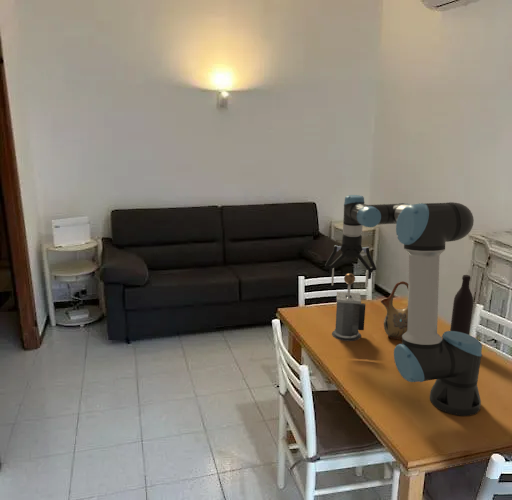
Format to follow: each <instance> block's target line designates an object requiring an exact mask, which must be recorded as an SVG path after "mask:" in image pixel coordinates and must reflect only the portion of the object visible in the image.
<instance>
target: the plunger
mask: <svg viewBox="0 0 512 500" xmlns="http://www.w3.org/2000/svg"><path fill="white" fill-rule="evenodd" d="M343 280H344V282H345V283H346V284H347V292H348V294H347V297H348V298H350V293H351V286H352V284H354V283H355V282H356V277H355V274H353V273H352V272H350V273H349V272H348V273H346V274H345V275H344V278H343Z"/></svg>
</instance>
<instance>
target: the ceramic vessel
mask: <svg viewBox="0 0 512 500" xmlns="http://www.w3.org/2000/svg"><path fill="white" fill-rule="evenodd" d="M400 285H404V286H406V289H407V290H408V282H407V281H399V282H397V283H396V284H395V285H394V287H393V289H392V291H391V293H390V295H389V296H388V297H385V298H382V299H381V300H380V303H381V305H383V306H384V307H385V309H386V316H385V318H384V319H383V329H384V331H385V334H386V335H387V336H388V337H389V338H391V339H394V340H401V341H402V335H403V334H404V333H405V332H407V326H408V305H407V306H406V307H404V308H400V309H399V308H395V307H394V305H393V304H394V303H393V301H394V298H395V297H394V296H395V294H396V290H398V289H397V288H398V287H399V286H400Z"/></svg>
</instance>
